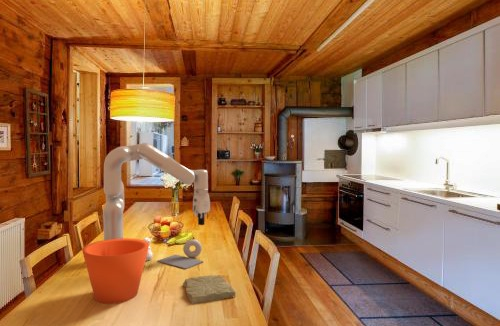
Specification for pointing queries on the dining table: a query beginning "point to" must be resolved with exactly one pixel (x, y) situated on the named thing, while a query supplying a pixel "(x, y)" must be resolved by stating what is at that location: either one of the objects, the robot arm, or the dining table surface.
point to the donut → (192, 243)
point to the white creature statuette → (149, 253)
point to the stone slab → (207, 288)
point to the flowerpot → (115, 268)
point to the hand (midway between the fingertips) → (201, 224)
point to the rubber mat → (180, 261)
